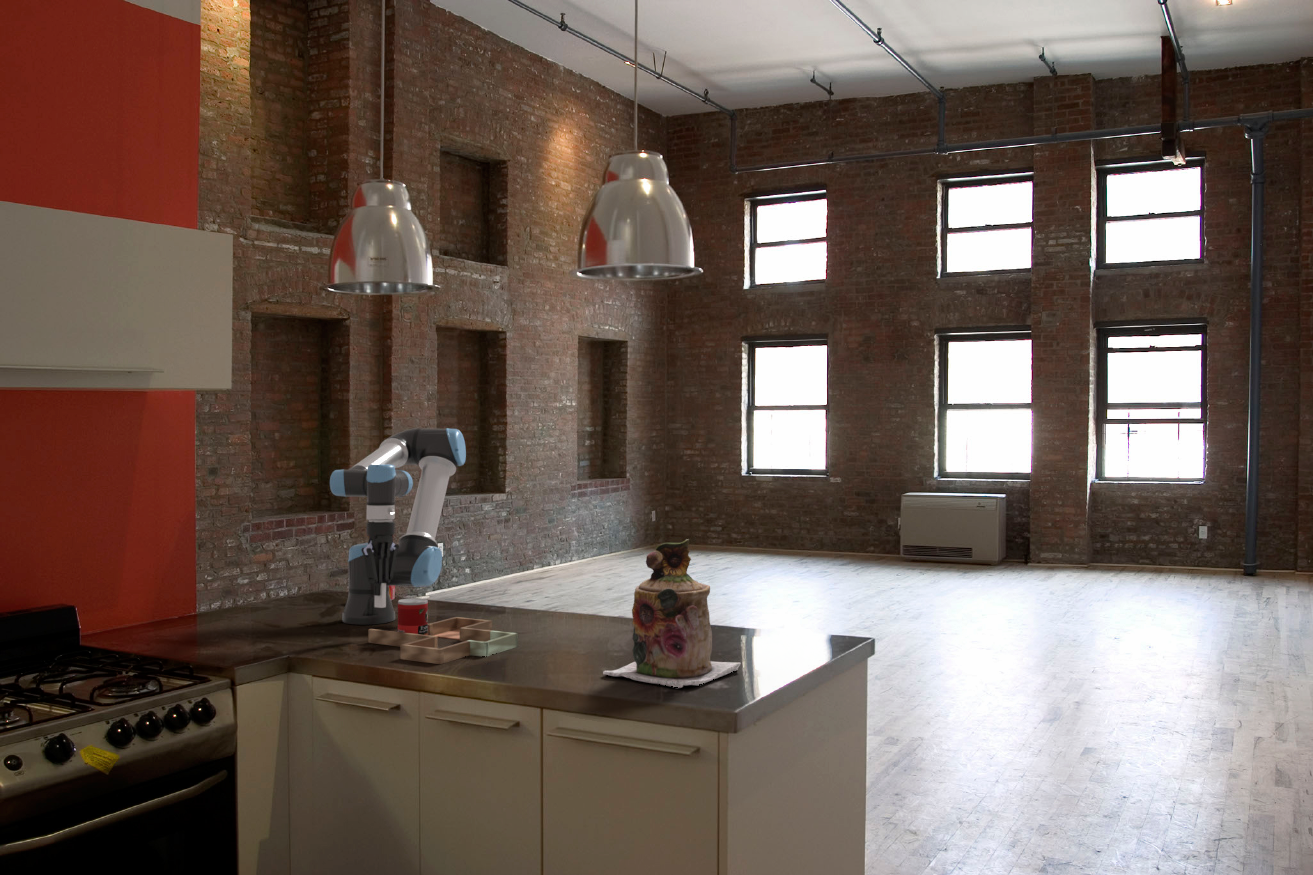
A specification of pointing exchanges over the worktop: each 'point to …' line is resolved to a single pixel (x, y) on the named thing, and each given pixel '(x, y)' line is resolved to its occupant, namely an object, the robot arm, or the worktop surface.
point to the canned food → (413, 616)
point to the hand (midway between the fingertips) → (380, 607)
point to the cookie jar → (672, 625)
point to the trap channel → (464, 629)
